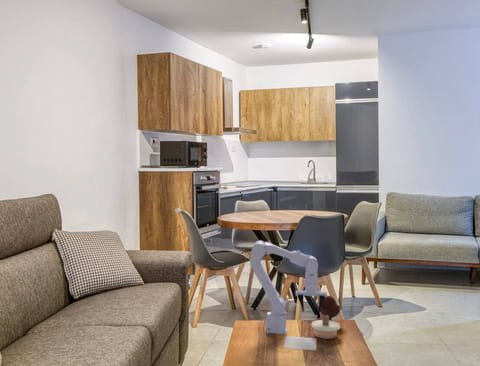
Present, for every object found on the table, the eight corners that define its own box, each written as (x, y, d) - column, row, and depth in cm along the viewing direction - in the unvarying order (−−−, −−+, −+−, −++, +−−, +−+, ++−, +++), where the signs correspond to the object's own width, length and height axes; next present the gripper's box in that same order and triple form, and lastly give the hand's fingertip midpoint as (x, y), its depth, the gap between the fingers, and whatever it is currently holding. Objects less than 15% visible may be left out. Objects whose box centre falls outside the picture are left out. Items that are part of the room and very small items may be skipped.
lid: (309, 329, 223) (310, 319, 222) (312, 320, 235) (313, 310, 235) (339, 332, 220) (339, 322, 219) (340, 323, 232) (340, 312, 232)
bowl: (314, 340, 224) (314, 329, 224) (314, 332, 234) (314, 321, 234) (336, 341, 222) (337, 330, 222) (336, 333, 232) (336, 323, 232)
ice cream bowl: (342, 329, 238) (343, 298, 237) (319, 329, 238) (320, 298, 238) (339, 322, 249) (339, 292, 248) (316, 321, 249) (317, 292, 248)
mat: (283, 349, 213) (283, 347, 213) (285, 337, 227) (285, 336, 227) (316, 351, 211) (316, 350, 211) (316, 339, 225) (316, 338, 225)
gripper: (295, 284, 229) (295, 312, 230) (327, 285, 227) (326, 314, 227) (296, 280, 236) (296, 308, 237) (327, 281, 234) (326, 309, 234)
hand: (311, 311), depth 233 cm, fingers open, 7 cm apart
